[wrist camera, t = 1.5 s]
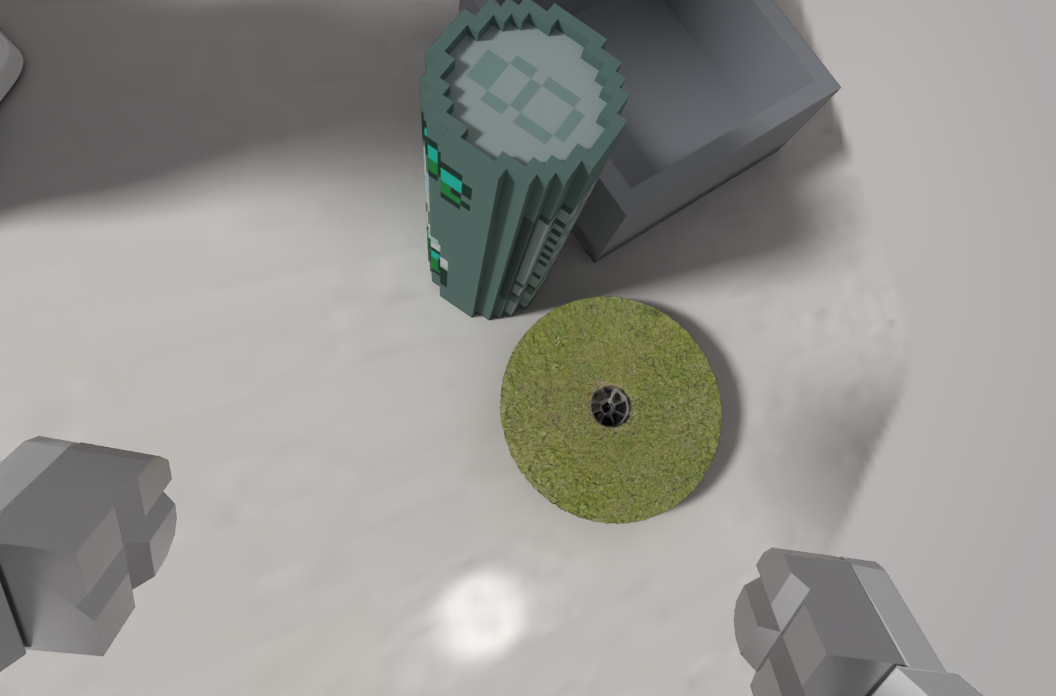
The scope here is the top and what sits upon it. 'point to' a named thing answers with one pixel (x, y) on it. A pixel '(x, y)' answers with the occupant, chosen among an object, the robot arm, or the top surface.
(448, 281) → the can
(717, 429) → the mat
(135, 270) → the top surface
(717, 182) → the bin
